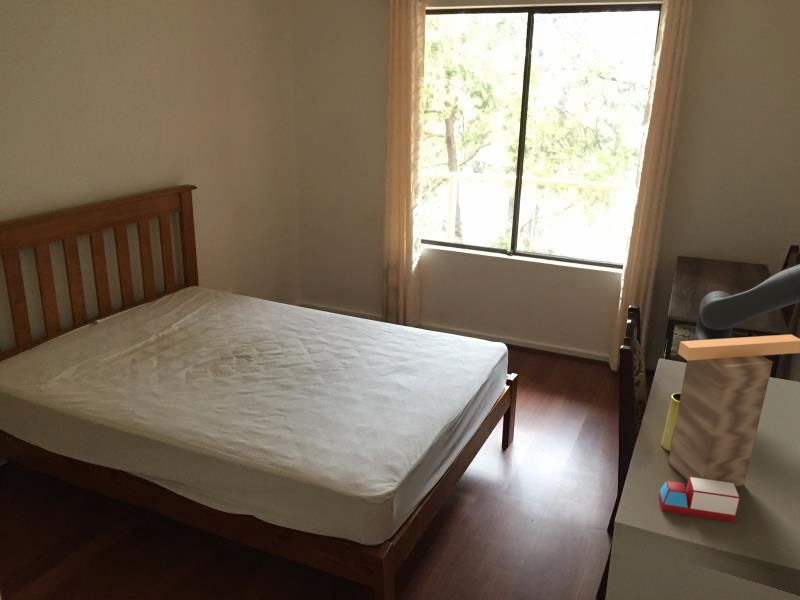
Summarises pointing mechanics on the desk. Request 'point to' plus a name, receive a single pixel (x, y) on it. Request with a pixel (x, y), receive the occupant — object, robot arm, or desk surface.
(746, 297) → the robot arm
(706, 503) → the toy truck
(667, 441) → the vase
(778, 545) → the desk surface
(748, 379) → the pedestal
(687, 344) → the light orange bar
